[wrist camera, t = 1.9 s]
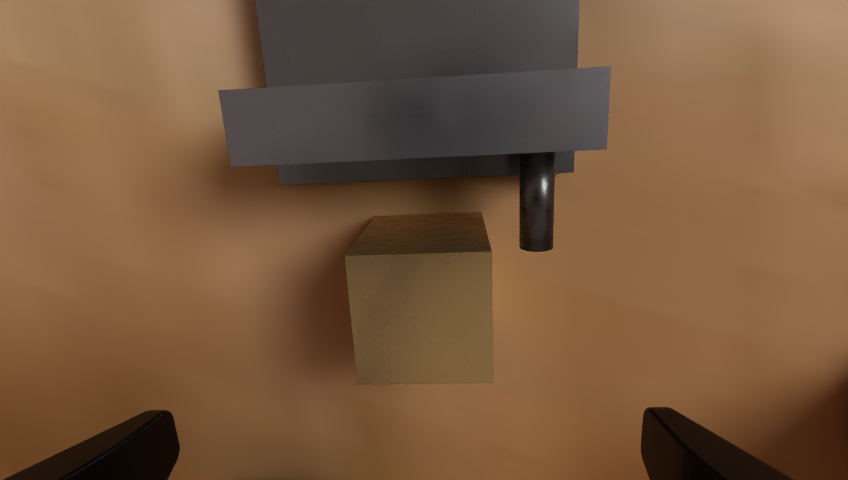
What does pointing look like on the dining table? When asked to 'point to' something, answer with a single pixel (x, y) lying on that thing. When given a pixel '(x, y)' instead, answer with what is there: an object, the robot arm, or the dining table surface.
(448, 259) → the block
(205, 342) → the dining table surface
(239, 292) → the dining table surface
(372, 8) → the vise base
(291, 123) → the jaw
